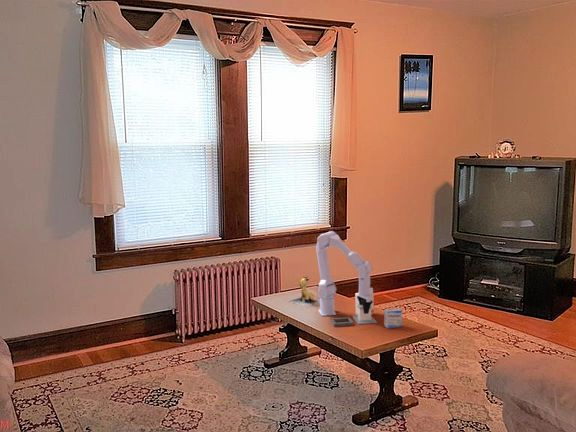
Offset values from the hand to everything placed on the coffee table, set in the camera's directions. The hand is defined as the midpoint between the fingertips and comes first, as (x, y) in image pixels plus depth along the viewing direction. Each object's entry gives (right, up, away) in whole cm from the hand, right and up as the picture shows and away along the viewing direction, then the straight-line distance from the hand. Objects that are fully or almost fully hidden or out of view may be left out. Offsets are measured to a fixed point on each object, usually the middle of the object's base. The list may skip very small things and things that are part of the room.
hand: (364, 311), depth 289 cm
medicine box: (+13, -6, -9) cm, 17 cm away
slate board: (0, -5, +1) cm, 5 cm away
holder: (-12, -5, -3) cm, 13 cm away
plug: (0, -4, +1) cm, 4 cm away
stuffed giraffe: (-27, -1, +35) cm, 44 cm away
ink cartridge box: (+1, -3, +10) cm, 10 cm away
